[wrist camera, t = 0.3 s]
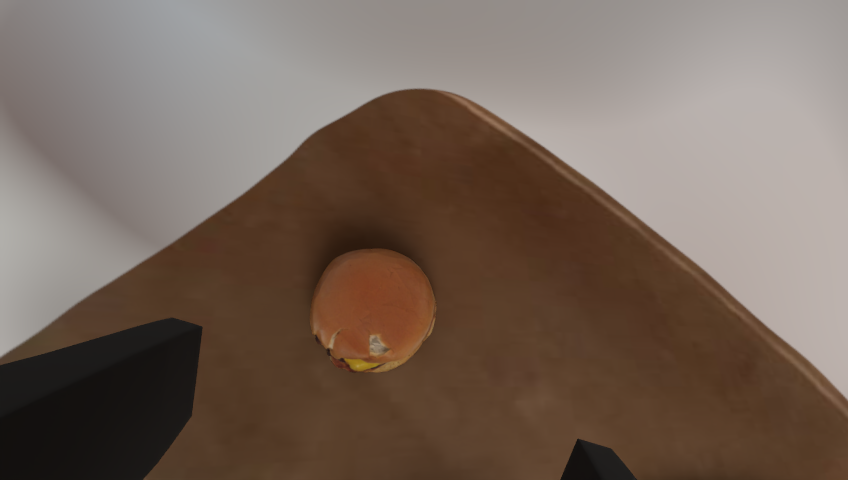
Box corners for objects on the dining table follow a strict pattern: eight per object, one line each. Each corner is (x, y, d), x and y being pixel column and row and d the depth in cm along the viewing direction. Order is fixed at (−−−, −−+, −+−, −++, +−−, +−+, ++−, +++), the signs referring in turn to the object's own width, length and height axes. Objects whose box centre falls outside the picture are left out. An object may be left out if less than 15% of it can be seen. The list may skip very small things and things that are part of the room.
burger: (403, 246, 43) (409, 222, 39) (450, 343, 40) (462, 329, 36) (293, 287, 40) (287, 266, 36) (335, 395, 37) (333, 386, 33)
